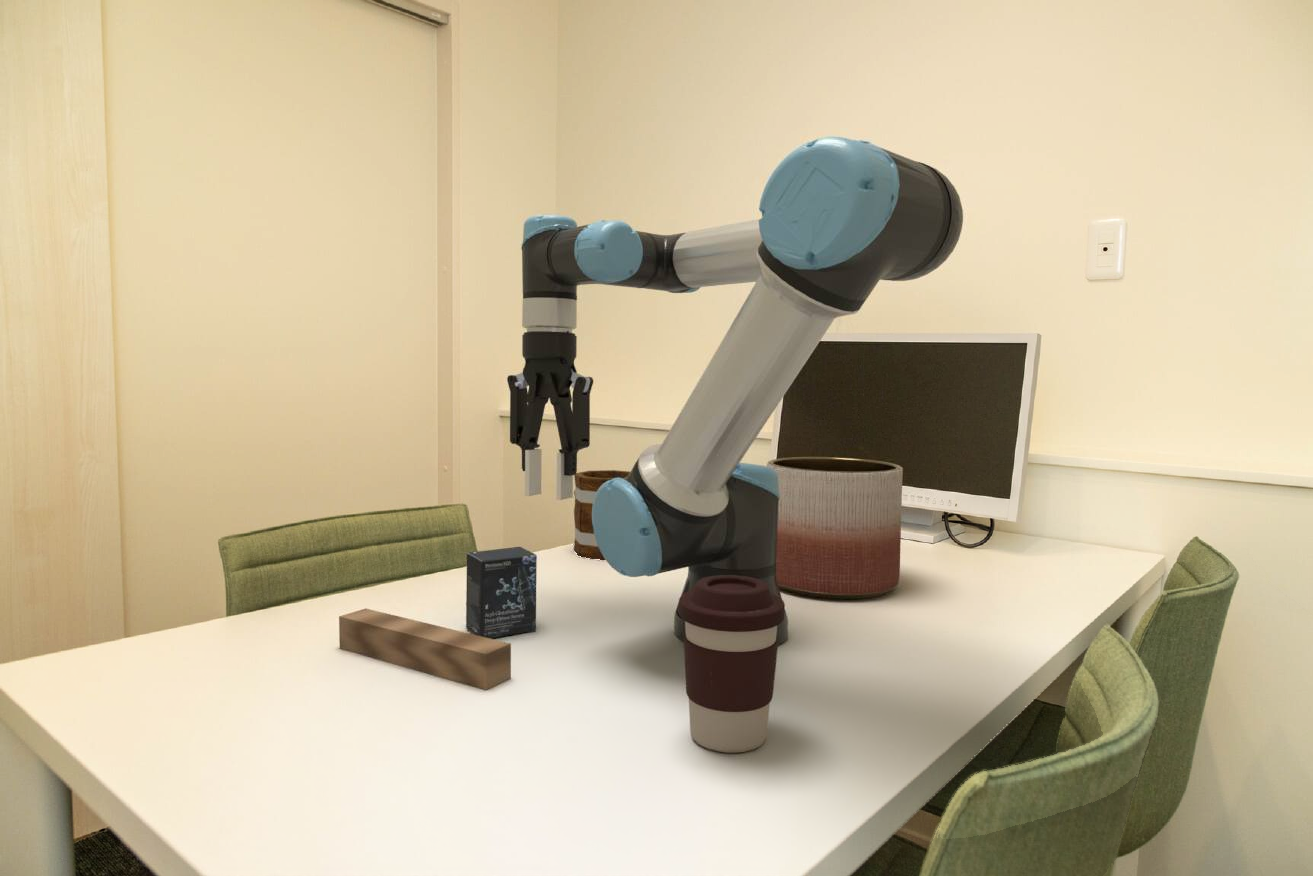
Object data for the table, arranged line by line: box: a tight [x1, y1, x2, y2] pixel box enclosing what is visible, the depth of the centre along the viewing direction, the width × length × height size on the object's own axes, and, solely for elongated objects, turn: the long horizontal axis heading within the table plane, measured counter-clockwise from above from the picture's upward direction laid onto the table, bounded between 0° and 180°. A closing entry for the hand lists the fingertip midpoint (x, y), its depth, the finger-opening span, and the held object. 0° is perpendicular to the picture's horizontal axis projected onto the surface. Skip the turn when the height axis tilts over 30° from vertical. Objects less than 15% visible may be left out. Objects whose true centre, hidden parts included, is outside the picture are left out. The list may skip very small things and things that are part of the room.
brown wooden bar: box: [338, 607, 512, 691], centre depth 95 cm, size 24×4×4 cm, turn 59°
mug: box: [573, 469, 631, 561], centre depth 150 cm, size 20×14×15 cm
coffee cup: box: [678, 575, 786, 754], centre depth 76 cm, size 10×10×15 cm
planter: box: [766, 456, 904, 600], centre depth 133 cm, size 22×22×20 cm
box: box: [465, 546, 538, 639], centre depth 106 cm, size 8×6×11 cm
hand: (548, 496), depth 114 cm, fingers open, 5 cm apart
